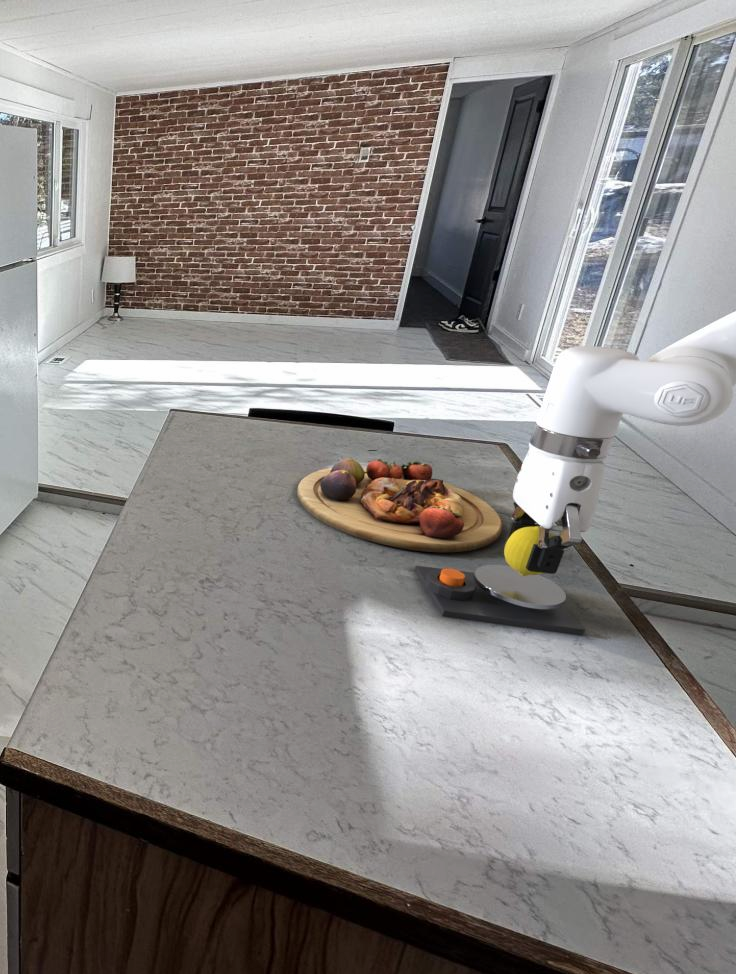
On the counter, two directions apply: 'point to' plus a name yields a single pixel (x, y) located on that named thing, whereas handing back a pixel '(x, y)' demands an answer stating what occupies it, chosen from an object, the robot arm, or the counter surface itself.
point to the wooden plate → (399, 507)
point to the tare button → (452, 577)
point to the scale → (491, 605)
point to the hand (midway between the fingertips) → (529, 558)
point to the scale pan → (519, 587)
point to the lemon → (522, 548)
